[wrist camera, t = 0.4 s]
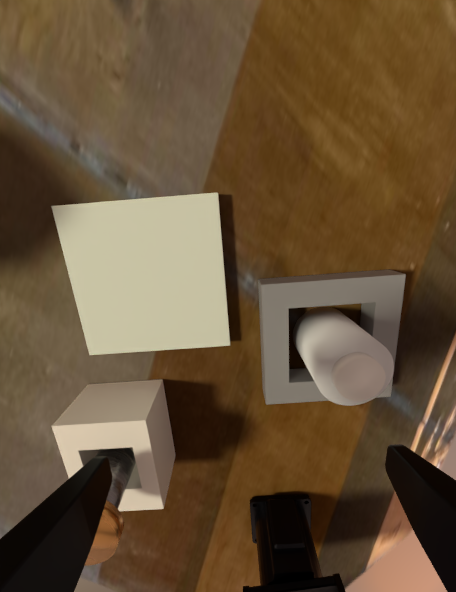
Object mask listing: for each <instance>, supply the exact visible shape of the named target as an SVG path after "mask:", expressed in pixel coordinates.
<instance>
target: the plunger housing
mask: <svg viewBox="0 0 456 592" xmlns="http://www.w3.org/2000/svg"><path fill="white" fill-rule="evenodd" d="M52 429H53V432H54V435H55V438H56V441H57V444H58V447H59V450H60V453H61V456H62V459H63V462H64V465H65V468H66V471H67V474H68V477H69V478H70V477H72V476H73V475H74V474H75V473H76V472H77V471H78V470H80V469H81V468H82V467H83V466H84V465H85V464H86V463H88V462H89V461H90V460H91V459H92V458H94V457H95V456H96V454H97V452H98V450H99V449H113V448H130V449H131V450H132V451H133V453H134V456H135V460H136V463H135V466H134V468H133V471H132V474H131V476H130V479H129V481H128V484H127V487H126V489H125V492H124V494H123V497H122V500H121V502H120V505H119V507H118V510H119V511H134V510H152V509H164V505H165V500H166V496H167V492H168V487H169V483H170V478H171V474H172V469H173V465H174V461H175V456H176V454H175V448H174V443H173V437H172V431H171V425H170V419H169V413H168V408H167V402H166V396H165V390H164V384H163V379H161V380H146V381H130V382H115V383H100V384H88V385H87V386H86V387H85V388H84V390H83V391H82V392H81V393H80V394H79V395H78V396H77V398H76V399H75V400H74V401H73V402H72V403H71V404H70V406H69V407H68V408H67V409H66V410H65V411H64V413H63V414H62V415H61V416H60V417H59V418H58V419H57V421H56V422H55V423H54V424H53V425H52Z"/></svg>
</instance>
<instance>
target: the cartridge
mask: <svg viewBox="0 0 456 592" xmlns="http://www.w3.org/2000/svg"><path fill="white" fill-rule="evenodd" d="M293 342H294V345H295V347H296V349H297V350H298V352H299V354H300V356H301V358H302V360H303V361H304V363H305V365H306V367H307V369H308V370H309V372H310V374H311V376H312V378H313V380H314V381H315V383H316V385H317V387H318V389H319V390H320V392H321V393H322V395H323V396H324V397H326V398H327V399H328V400H330V401H332V402H334V403H337V404H340V405H359V404H363V403H366V402H368V401H370V400H372V399H374V398H376V397H377V396H378V395H380V394H381V393H382V392H383V391H384V390H385V389H386V387H387V386H388V384H389V383H390V381H391V379H392V376H393V371H394V362H393V358H392V356H391V354H390V352H389V350H388V349H387V348H386V347H385V346H384V345H382V344H381V343H380V342H379V341H377V340H376V339H375V338H373V337H372V336H371V335H370V334H368V333H367V332H366V331H365V330H363V329H362V328H361V327H359V326H358V325H357V324H356V323H354V322H353V321H352V320H351V319H349V318H348V317H347V316H345V315H344V314H343V313H342V312H340V311H339V310H337V309H335V308H331V307H317V308H313V309H311V310H309V311H307V312H306V313H304V314H303V315H302V316H301V317H300V318H299V319H298V320H297V322H296V324H295V326H294V329H293Z"/></svg>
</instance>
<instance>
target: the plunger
mask: <svg viewBox="0 0 456 592" xmlns="http://www.w3.org/2000/svg"><path fill="white" fill-rule="evenodd" d="M98 456H106V457H108V459H109V463H110V467H111V472H112V484H111V487H110V490H109V494H108V497H107V500H106V503H105V507H104V510H103V513H102V516H101V520H100V523H99V526H98V529H97V532H96V536H95V539H94V542H93V544H92V547H91V550H90V552H89V555H88V558H87V560H86V563H85V565H94V564H98V563H101V562H104V561H106V560H107V559H109V558H110V557H111V556H112V555H113V554H114V552H115V551H116V548H117V546H118V543H119V540H120V537H121V534H122V531H123V527H124V520H123V517H122V515H121V513H120V511H119V510H118V507H119V505H120V502H121V500H122V497H123V494H124V492H125V489H126V487H127V484H128V481H129V479H130V476H131V474H132V471H133V468H134V466H135V463H136V460H135V456H134V453H133V451H132V450H131V449H130V448H113V449H99V450H98V452H97V454H96V456H95V457H98Z"/></svg>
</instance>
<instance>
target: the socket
mask: <svg viewBox="0 0 456 592" xmlns="http://www.w3.org/2000/svg"><path fill="white" fill-rule="evenodd" d="M405 277H406V274H403V273H400V272H396V271H393V270H375V271H361V272H348V273H334V274H321V275H307V276H294V277H280V278H267V279H258V286H259V310H260V333H261V357H262V380H263V392H264V397H265V402H266V404H281V403H297V402H312V401H328V399H327V398H326V397H324V396H323V395H322V393H321V392H320V390H319V389H318V387H317V385H316V383H315V381H314V380H313V378H312V376H311V374H310V372H309V370H308V369H307V368H299V369H289V308H301V307H315V306H329V305H343V304H357V303H362V305H361V318H360V327H361V328H362V329H363V330H365V331H366V332H367V333H368V334H370V335H371V336H372V337H373V338H375V339H376V340H377V341H379V342H380V343H381V344H382V345H384V346H385V347H386V348H387V349H388V350H389V352H390V354H391V356H392V358H393V362H394V365H395V357H396V349H397V341H398V333H399V325H400V317H401V309H402V301H403V293H404V285H405ZM393 373H394V371H393ZM392 381H393V376H392V379H391V381H390V383H389V384H388V386H387V387H386V389H385V390H384V391H383V392H382V393H381V394H380V395H378V396H377V397H391V389H392Z"/></svg>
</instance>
